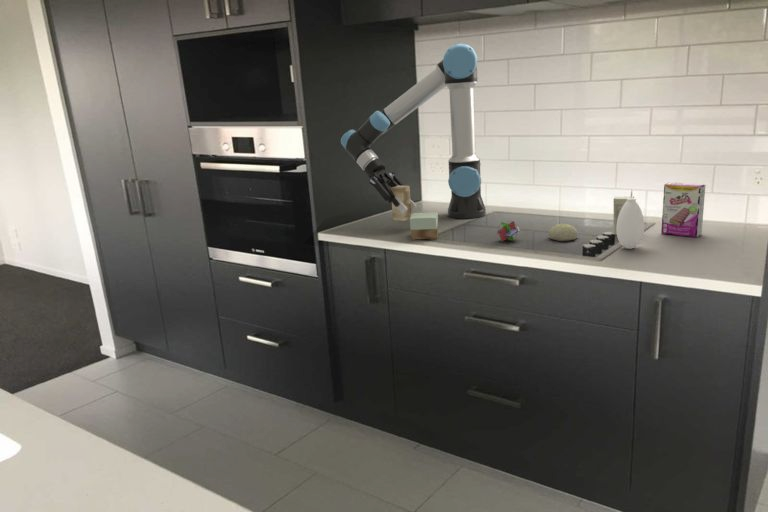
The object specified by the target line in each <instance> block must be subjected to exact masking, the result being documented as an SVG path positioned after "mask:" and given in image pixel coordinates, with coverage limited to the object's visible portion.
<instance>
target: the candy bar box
mask: <svg viewBox="0 0 768 512" xmlns="http://www.w3.org/2000/svg"><path fill="white" fill-rule="evenodd" d="M663 186H664V187H663V200H662V218H661V231H660V232H661V234H663V235H672V236H681V237H689V238H698V237H700V236H702V232H703V219H704V210H705V209H704V208H705V195H706V184H704V183H703V184H702V183H690V182H689V183H686V182H674V181H669V182H667V183H665V184H664V185H663Z"/></svg>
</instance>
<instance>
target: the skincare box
mask: <svg viewBox="0 0 768 512" xmlns="http://www.w3.org/2000/svg"><path fill="white" fill-rule="evenodd" d="M627 198H631V196H614V197H613V235H614V236H617V232H616V225H617V219H618V216H619V213H620V211H621V209H622V207H623V205H624V204H625V203H626V202H627ZM632 198H635V196H632Z"/></svg>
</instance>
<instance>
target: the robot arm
mask: <svg viewBox="0 0 768 512" xmlns="http://www.w3.org/2000/svg"><path fill="white" fill-rule="evenodd" d="M435 66H436V67H435V69H433V70H432V71H431V72H430V73H428V74H427V75H426V76H425V77H423V78H422V79H421V80H419V81H418V82H417V83H415V84H413V86H412V87H410V88H409V89H408V90H406V91H405V92H404V93H403V94H401V95H400V96H399V97H398V98H397V99H394V101H393V102H391V103H389V104H388V105H387V106H386V107H384V108H383V109H382V110H381V111H380V110H376V111H374V112H373V113H372V114H371V115H370V116H369V118H368V119H367V120H366V121H365V122H364V123H362V125H361V126H360V127H359V128H358V129H357V130H355V129H349V130H348V131H347V132H345V133H344V134H343V135H342V137H341V138H340V144H341V145H342V147H343V148H344V150H345V152H346V153H348V155H349V156H350V157H352V159H353V161H355V163H357V164H358V166H359V167H360V168H361V170H362V171H364V174H365V175H366V176H367V177H368V178H369V179H370V180H369V181H368V182H369V184H370V185H371V186H372V187H373V188H374V189H375V190H376V191H377V192H378V194H379V195H380V196H381V197H382V198H383V200H384V201H385V202H388V204H389V203H391V204H392V203H393V204H394V205H395V206H396V207H397V208H398V209H399V211H400V212H401V213H402V214H404V213H405V212H406V211H407V210H408V209H407V208H406V206H405V205H404V204H403V203H402V202H401V200H400V199H399V198H398V197H397V196H396V197H395V196H394V194H393V192H392V191H391V188H392V187H395V186H406V185H405V184H404V183H403V182H402V181H401V179H400V178H399V177H398V175H397V174H396V173H395V171H392V172H391V173H390V172H389V171H388V170H386V164H385V163H384V162H383V161H382V160H381V159H380V158H379V156H378V155H377V154H376V153H375V151H373V150H372V149H371V146H372V145H373V144H374V143H375V142H376V140H378V139H379V137H381V136H382V135H384V134H386V133H387V132H388V131H389V130H391V129H392V128H393V127H394V126H395V125H397V124H398V123H399V122H401V121H402V120H404V119H405V118H407V116H409V115H410V114H411V113H413V112H414V111H415V110H417V109H418V108H419V107H421V106H422V105H423V104H425V103H426V102H427V101H428V100H430V99H431V98H432V97H434V96H435V95H436V94H438V93H439V92H441V91H442V90H443V89H444V88H446V87H447V88H448V89H449V106H450V107H449V109H450V110H449V111H450V129H451V131H450V132H451V133H450V134H451V136H450V137H451V156H450V158H449V159H448V186H449V189H450V191H451V194H450V195H451V198H450V202H449V205H448V208H447V216H448V217H449V218H451V219H462V220H463V219H464V220H466V219H476V218H481V217H484V216H486V214H487V210H486V206H485V203H484V200H483V197H482V193H481V191H482V189H481V187H482V186H481V185H482V178H481V165H482V164H481V158H480V157H479V156H478V155H477V154H476V153H477V152H476V127H475V125H476V124H475V122H476V121H475V103H474V102H475V100H474V99H475V97H474V95H475V94H474V87H475V86H476V85H477V84H478V55H477V52H476V50H475V49H474V48H473V47H472V46H471V45H468V44H466V43H457V44H453V45H451V46H450V47H449V48H448V49H447V50H446V51H445V53H444V54H443V59H442V60H440V61H439V62H438V63H437V64H436V65H435ZM410 199H411V212H413V211H415V209H416V208H417V207H418V206H417V204H416V203H415V202H414V201H413V200H412V197H410Z"/></svg>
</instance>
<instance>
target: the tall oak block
mask: <svg viewBox="0 0 768 512" xmlns="http://www.w3.org/2000/svg"><path fill="white" fill-rule="evenodd" d="M390 189H391V191H392V192H393V194H394V196H395V197H396V196H397V197H398V198H399V199H400V200H401V202H402V203H403V204H404V205H405V206H406V208H407V209H408V210H407V211H406V212H405V213H404V214H402V213H401V212H400V211H399V209H398V208H397V207H396V206H395V205H394V204H393V203H392V202H391V210H392V211H391V212H392V220H393V221H401V222H402V221H403V222H405V221H407V220H410V217H411V215H412V213H413V212H412V211H411V199H412V198H411V187H410V185H405V186H395V187H392V188H391V187H390ZM410 198H411V199H410Z"/></svg>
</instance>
